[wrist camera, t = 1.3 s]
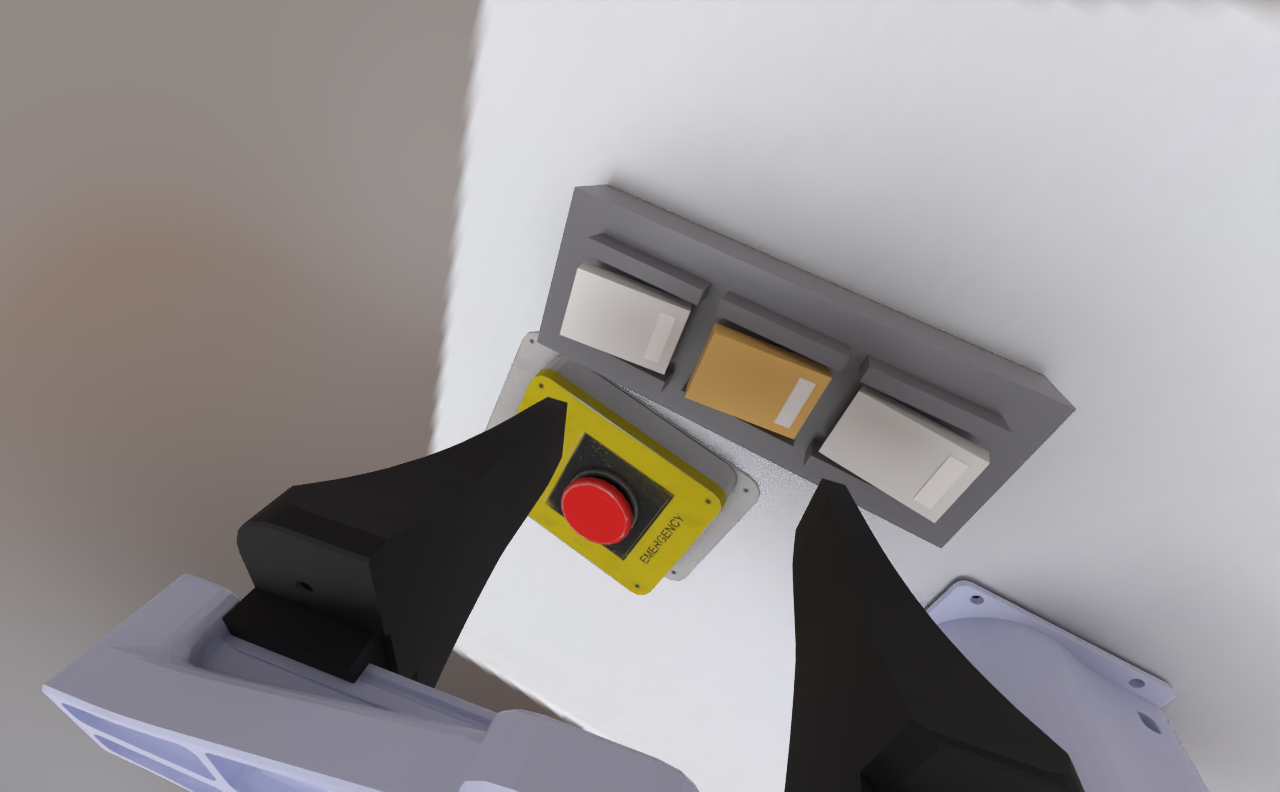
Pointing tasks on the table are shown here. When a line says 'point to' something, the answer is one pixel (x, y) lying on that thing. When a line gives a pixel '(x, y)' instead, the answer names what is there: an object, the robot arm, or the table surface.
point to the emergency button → (625, 475)
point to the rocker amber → (757, 381)
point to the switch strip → (801, 350)
